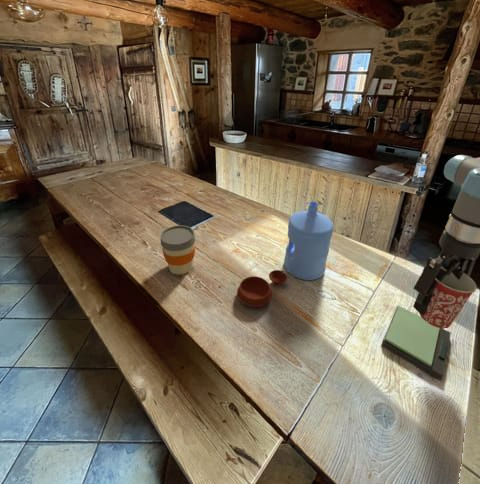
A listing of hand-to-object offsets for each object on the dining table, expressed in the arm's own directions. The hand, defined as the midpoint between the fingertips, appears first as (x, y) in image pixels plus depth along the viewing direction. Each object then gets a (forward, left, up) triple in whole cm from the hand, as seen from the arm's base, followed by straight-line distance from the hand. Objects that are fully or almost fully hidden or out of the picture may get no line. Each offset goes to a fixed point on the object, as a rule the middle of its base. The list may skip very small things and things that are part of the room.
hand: (431, 306), depth 70 cm
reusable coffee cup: (+61, -51, -14) cm, 81 cm away
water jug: (+15, -37, -14) cm, 42 cm away
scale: (0, 0, -14) cm, 14 cm away
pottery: (+35, -30, -14) cm, 48 cm away
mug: (-1, 0, -2) cm, 2 cm away
